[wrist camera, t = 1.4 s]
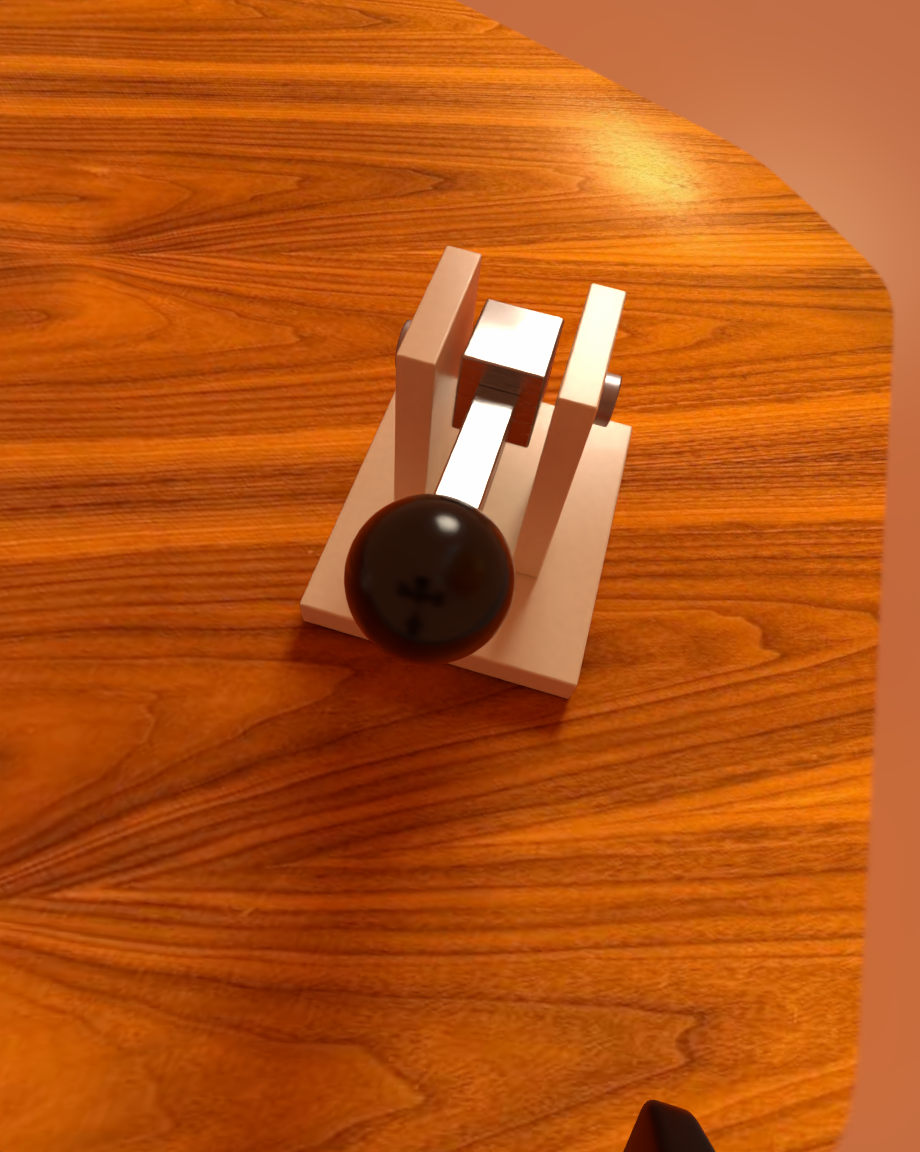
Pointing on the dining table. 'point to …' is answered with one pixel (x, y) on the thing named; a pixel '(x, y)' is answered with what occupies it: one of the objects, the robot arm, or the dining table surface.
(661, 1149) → the robot arm
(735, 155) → the dining table surface
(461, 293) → the bracket
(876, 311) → the dining table surface
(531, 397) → the lever
